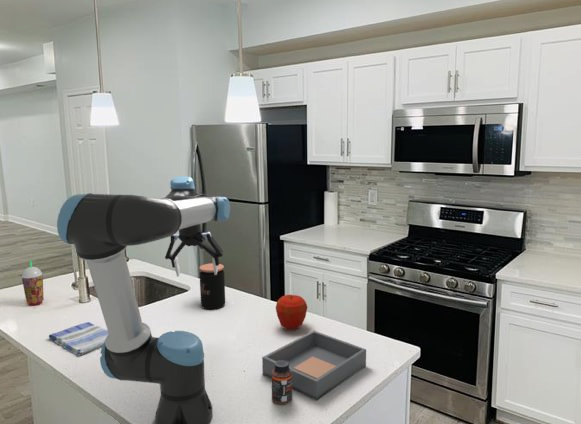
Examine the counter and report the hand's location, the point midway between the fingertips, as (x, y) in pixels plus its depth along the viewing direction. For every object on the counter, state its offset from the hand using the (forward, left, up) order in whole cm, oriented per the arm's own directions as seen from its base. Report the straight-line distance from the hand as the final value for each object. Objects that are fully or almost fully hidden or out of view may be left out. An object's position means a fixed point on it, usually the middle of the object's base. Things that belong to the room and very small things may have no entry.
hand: (197, 273), depth 168 cm
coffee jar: (+25, +24, -26) cm, 43 cm away
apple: (+30, -18, -26) cm, 44 cm away
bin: (+11, -45, -26) cm, 53 cm away
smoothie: (-26, +87, -26) cm, 94 cm away
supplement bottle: (-8, -48, -26) cm, 55 cm away
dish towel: (-27, +34, -27) cm, 51 cm away
